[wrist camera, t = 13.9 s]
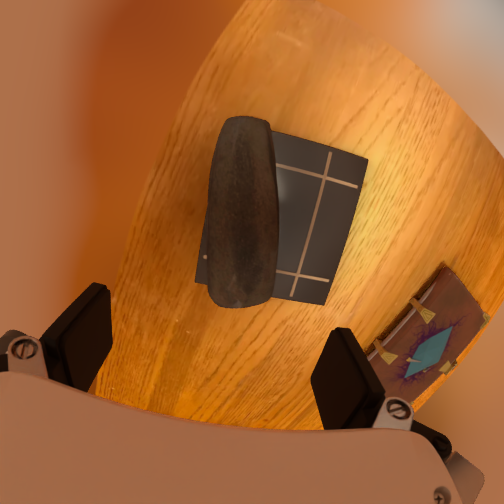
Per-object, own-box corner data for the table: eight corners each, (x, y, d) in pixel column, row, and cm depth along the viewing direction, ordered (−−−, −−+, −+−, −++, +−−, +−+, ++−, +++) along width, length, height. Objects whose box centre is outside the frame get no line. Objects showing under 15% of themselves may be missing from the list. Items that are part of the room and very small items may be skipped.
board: (196, 277, 29) (194, 283, 28) (226, 122, 24) (225, 120, 23) (321, 300, 30) (324, 306, 29) (363, 159, 25) (369, 159, 24)
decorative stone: (271, 296, 29) (275, 318, 25) (209, 295, 28) (204, 317, 24) (280, 121, 23) (287, 115, 19) (208, 120, 23) (201, 113, 19)
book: (319, 387, 36) (325, 412, 32) (438, 257, 30) (460, 270, 25) (382, 414, 39) (390, 434, 34) (481, 311, 33) (498, 326, 28)
